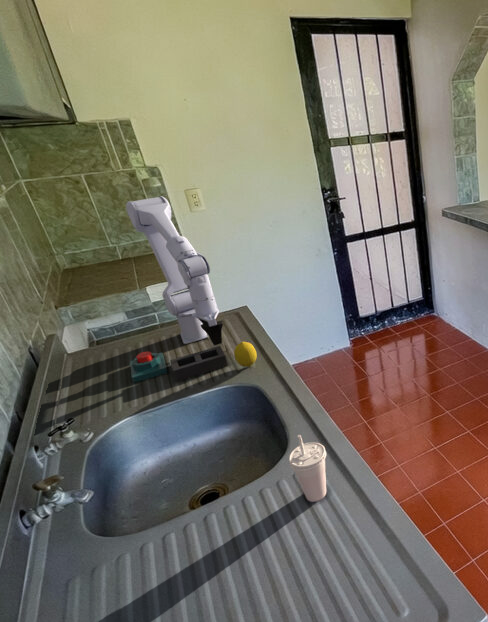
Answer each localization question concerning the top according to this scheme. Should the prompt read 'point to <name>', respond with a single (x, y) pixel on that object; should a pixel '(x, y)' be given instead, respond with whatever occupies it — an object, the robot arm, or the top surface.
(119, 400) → the top surface
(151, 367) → the switch block
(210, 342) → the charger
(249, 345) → the lemon
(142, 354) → the power button
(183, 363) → the dark grey slotted block
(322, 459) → the smoothie
